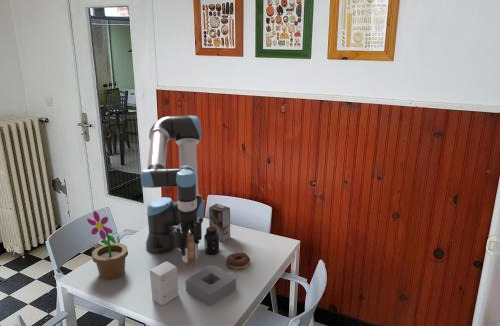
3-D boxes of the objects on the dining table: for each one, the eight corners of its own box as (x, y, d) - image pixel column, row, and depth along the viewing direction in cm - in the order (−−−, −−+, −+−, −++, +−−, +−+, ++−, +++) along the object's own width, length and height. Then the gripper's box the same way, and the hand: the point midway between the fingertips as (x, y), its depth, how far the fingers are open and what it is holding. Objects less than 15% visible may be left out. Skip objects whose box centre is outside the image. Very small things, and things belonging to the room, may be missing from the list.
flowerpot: (86, 278, 160) (77, 211, 151) (110, 260, 173) (103, 198, 164) (114, 285, 155) (106, 217, 146) (136, 267, 168) (130, 203, 159)
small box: (168, 289, 153) (166, 260, 149) (179, 295, 149) (177, 266, 145) (151, 299, 147) (149, 269, 143) (162, 306, 143) (159, 275, 139)
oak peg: (182, 264, 163) (181, 235, 158) (190, 260, 166) (189, 231, 161) (189, 268, 160) (188, 238, 155) (197, 264, 163) (196, 234, 159)
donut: (247, 272, 165) (247, 264, 164) (223, 269, 167) (223, 261, 166) (252, 259, 175) (252, 251, 174) (229, 256, 177) (229, 248, 176)
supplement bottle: (205, 256, 176) (204, 232, 173) (204, 248, 183) (203, 226, 179) (219, 255, 178) (219, 231, 174) (218, 247, 184) (218, 225, 180)
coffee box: (231, 236, 195) (230, 207, 190) (223, 241, 190) (222, 211, 185) (217, 231, 200) (216, 203, 195) (208, 236, 195) (208, 207, 190)
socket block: (186, 290, 152) (185, 279, 151) (212, 275, 162) (211, 265, 161) (210, 306, 143) (209, 294, 142) (236, 289, 153) (236, 278, 152)
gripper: (176, 218, 146) (179, 271, 153) (209, 204, 158) (211, 253, 166) (164, 212, 151) (167, 263, 158) (197, 199, 163) (199, 247, 170)
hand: (189, 258), depth 162 cm, fingers closed on oak peg, 4 cm apart
